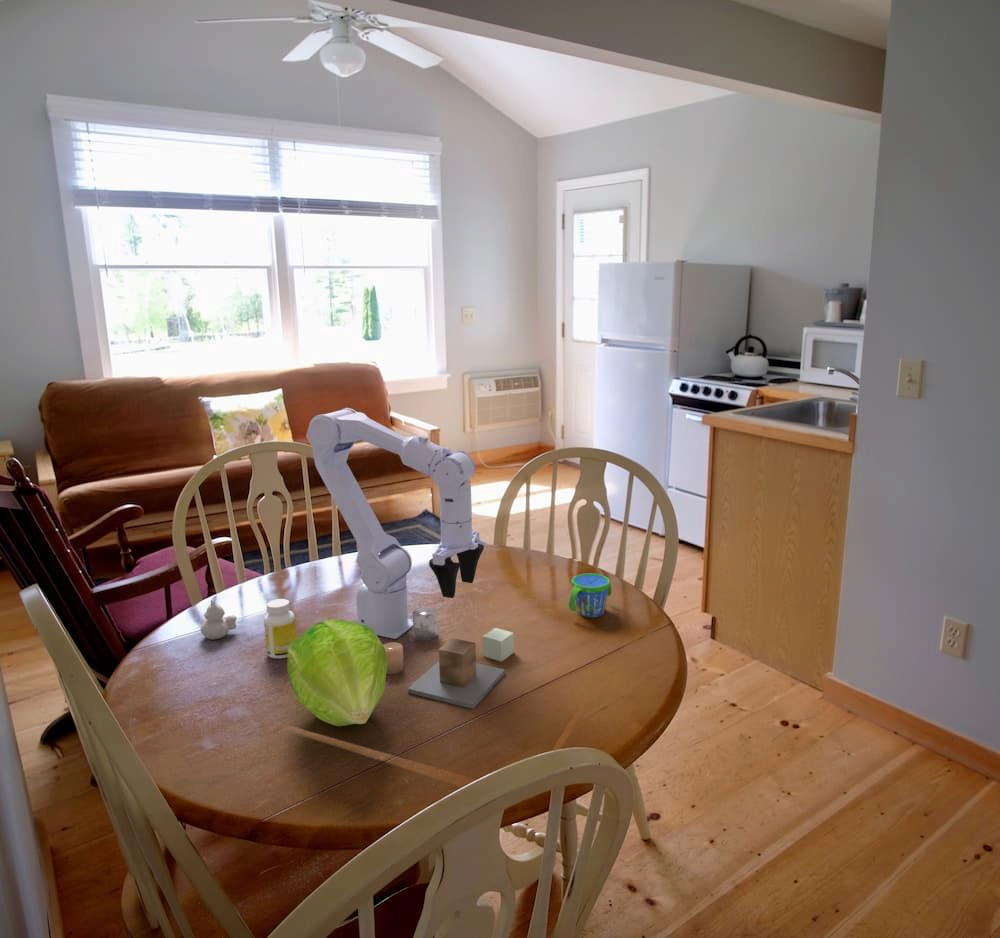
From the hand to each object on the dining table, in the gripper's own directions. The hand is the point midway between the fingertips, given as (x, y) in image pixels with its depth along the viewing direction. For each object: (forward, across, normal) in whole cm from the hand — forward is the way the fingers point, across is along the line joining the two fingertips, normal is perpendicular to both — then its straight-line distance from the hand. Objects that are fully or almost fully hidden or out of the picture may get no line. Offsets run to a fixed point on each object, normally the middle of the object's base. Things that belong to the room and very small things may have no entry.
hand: (458, 589), depth 133 cm
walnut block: (+10, -14, -7) cm, 18 cm away
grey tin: (+10, -1, +7) cm, 13 cm away
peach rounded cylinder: (+10, -14, +6) cm, 18 cm away
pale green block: (+10, -2, -9) cm, 14 cm away
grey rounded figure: (+11, -17, +44) cm, 48 cm away
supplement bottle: (+11, -17, +28) cm, 34 cm away
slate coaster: (+10, -14, -7) cm, 19 cm away
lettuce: (+11, -32, +3) cm, 34 cm away
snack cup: (+11, +21, -19) cm, 30 cm away
